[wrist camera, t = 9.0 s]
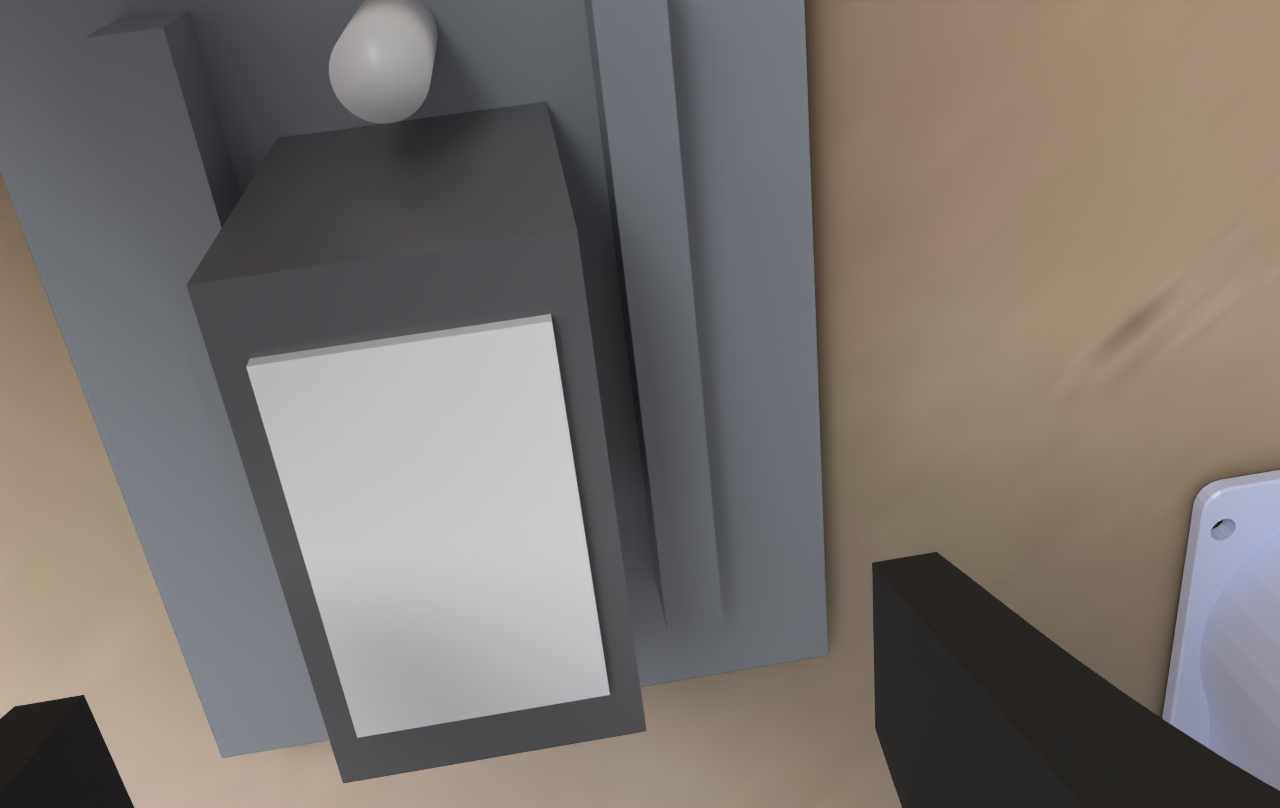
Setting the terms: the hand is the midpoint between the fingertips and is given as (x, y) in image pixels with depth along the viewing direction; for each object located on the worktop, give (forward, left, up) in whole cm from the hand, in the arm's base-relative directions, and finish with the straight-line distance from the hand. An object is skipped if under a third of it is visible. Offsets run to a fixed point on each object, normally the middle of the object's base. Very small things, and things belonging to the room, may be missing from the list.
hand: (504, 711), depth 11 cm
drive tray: (0, +1, -10) cm, 10 cm away
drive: (0, +1, -9) cm, 9 cm away
